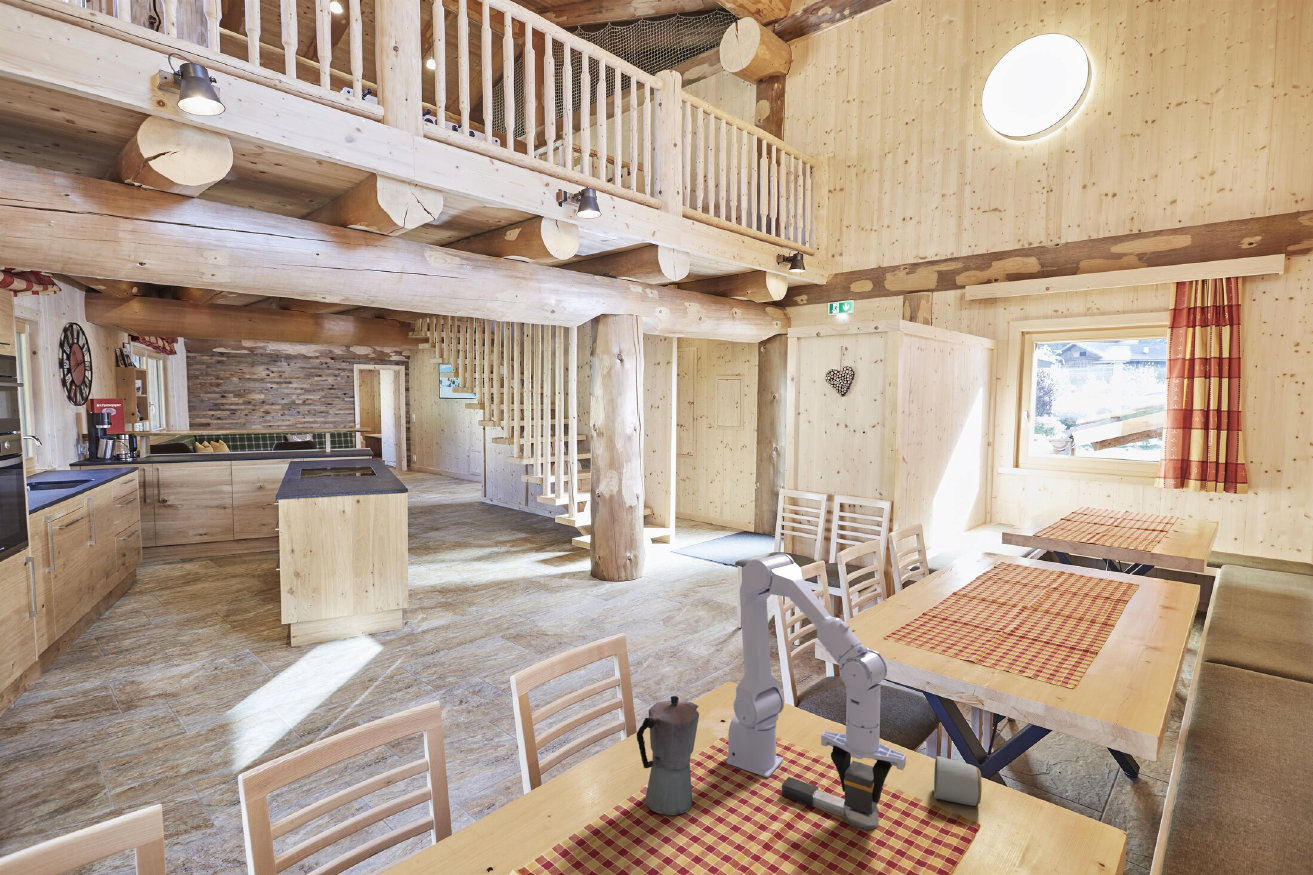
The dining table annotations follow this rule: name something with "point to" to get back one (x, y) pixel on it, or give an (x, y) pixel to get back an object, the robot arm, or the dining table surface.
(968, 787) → the ceramic mug
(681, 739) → the moka pot
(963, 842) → the dining table surface
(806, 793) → the ratchet
